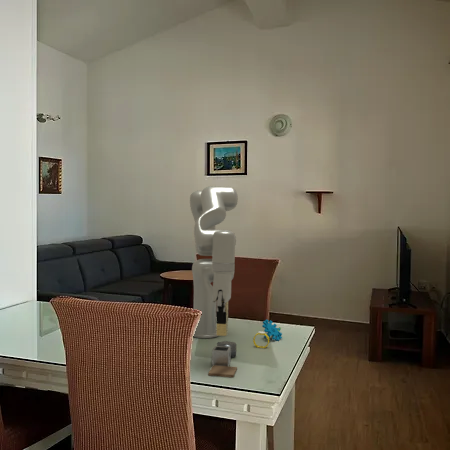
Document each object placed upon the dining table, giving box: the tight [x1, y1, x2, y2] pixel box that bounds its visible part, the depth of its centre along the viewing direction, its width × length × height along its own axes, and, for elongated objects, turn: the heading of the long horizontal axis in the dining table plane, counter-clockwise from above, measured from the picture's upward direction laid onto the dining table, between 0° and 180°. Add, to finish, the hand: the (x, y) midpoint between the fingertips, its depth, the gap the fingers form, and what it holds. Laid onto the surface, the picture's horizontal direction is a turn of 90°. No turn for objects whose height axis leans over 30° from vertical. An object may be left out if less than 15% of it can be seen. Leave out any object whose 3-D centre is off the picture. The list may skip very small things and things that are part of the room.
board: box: [207, 365, 238, 378], centre depth 156 cm, size 8×8×1 cm
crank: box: [211, 340, 238, 366], centre depth 169 cm, size 16×7×5 cm, turn 170°
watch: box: [252, 331, 270, 349], centre depth 186 cm, size 6×3×6 cm, turn 77°
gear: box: [262, 319, 283, 342], centre depth 199 cm, size 11×6×10 cm
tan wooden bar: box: [216, 301, 229, 337], centre depth 163 cm, size 3×3×12 cm
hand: (222, 321), depth 163 cm, fingers closed on tan wooden bar, 3 cm apart
